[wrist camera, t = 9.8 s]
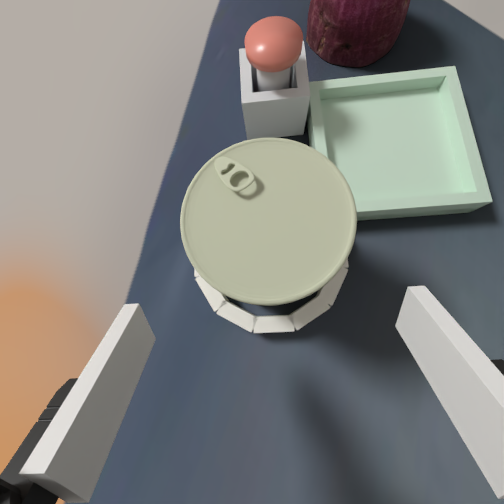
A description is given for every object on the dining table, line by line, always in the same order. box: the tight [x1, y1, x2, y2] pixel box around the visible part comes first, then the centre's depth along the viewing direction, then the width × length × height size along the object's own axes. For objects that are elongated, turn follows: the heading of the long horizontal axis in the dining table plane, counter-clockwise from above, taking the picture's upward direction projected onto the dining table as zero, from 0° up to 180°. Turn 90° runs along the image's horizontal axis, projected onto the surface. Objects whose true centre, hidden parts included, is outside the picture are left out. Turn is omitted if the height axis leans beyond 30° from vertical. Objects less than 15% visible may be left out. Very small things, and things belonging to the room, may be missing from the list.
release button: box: [245, 16, 303, 92], centre depth 23 cm, size 5×5×6 cm
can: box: [180, 138, 357, 306], centre depth 18 cm, size 9×9×12 cm
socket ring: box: [195, 258, 349, 333], centre depth 23 cm, size 14×14×2 cm
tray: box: [306, 66, 493, 221], centre depth 24 cm, size 14×14×2 cm
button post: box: [239, 41, 310, 140], centre depth 25 cm, size 6×6×5 cm
